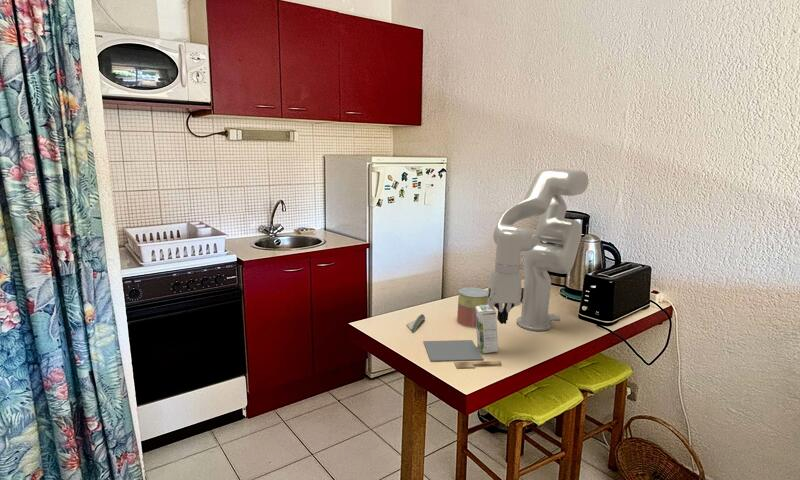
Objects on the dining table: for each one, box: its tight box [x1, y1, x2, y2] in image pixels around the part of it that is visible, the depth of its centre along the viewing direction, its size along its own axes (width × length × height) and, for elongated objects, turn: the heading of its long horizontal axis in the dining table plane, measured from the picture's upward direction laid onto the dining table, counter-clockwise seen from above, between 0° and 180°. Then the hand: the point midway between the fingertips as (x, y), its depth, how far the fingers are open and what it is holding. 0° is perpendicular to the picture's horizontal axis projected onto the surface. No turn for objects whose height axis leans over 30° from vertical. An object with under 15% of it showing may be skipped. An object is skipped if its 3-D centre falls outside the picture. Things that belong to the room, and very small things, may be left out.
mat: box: [423, 339, 485, 363], centre depth 149 cm, size 17×14×1 cm
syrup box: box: [476, 305, 499, 355], centre depth 148 cm, size 6×6×14 cm
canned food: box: [456, 286, 489, 329], centre depth 172 cm, size 11×11×12 cm
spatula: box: [453, 360, 503, 370], centre depth 140 cm, size 14×4×1 cm, turn 96°
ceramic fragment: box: [405, 313, 426, 334], centre depth 168 cm, size 14×5×4 cm, turn 158°
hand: (502, 322), depth 148 cm, fingers closed
